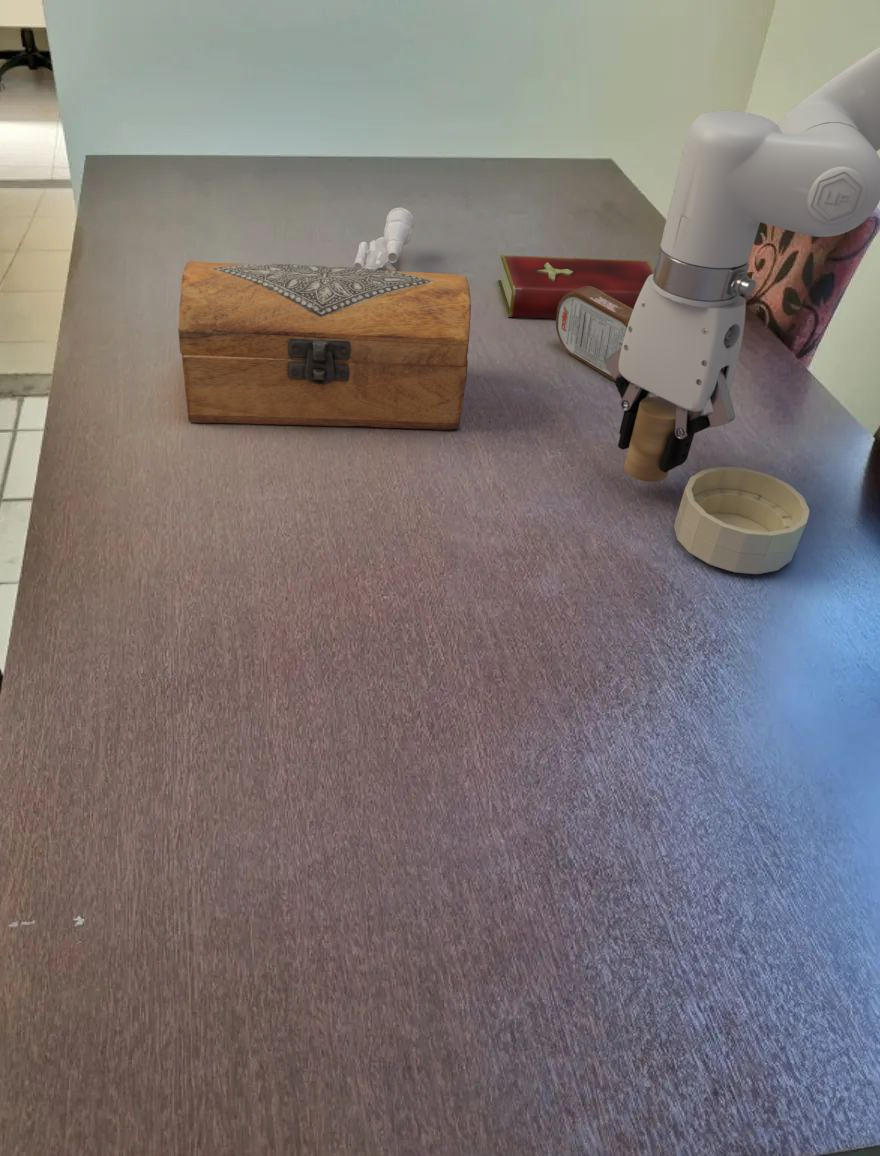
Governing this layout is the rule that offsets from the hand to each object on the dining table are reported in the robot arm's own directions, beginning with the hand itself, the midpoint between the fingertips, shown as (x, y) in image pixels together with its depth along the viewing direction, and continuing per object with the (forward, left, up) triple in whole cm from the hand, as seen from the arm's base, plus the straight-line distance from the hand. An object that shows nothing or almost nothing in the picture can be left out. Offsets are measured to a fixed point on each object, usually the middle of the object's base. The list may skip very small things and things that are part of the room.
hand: (650, 454), depth 96 cm
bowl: (-11, 0, -4) cm, 12 cm away
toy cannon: (+59, -16, -5) cm, 61 cm away
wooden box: (+34, +14, -5) cm, 37 cm away
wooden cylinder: (0, 0, -2) cm, 2 cm away
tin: (+21, -18, -5) cm, 28 cm away
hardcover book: (+35, -31, -5) cm, 47 cm away
